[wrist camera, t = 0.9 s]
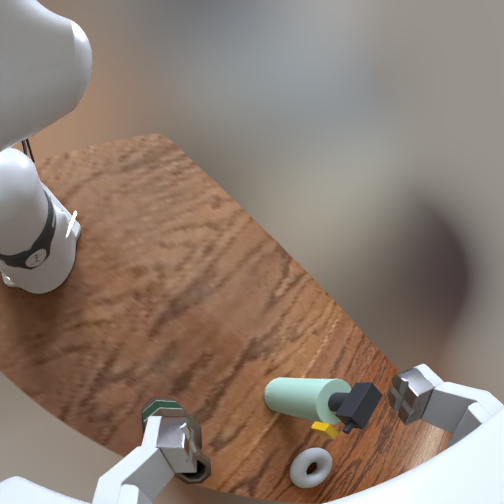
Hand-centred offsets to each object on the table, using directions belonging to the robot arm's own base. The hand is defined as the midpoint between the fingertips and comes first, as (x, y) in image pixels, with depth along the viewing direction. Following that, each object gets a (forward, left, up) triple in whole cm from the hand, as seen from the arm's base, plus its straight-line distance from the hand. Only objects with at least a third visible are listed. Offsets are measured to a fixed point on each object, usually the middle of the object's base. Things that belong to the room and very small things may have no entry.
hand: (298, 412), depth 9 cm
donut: (+35, +3, -38) cm, 52 cm away
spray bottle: (+18, +11, -38) cm, 43 cm away
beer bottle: (+5, -7, -38) cm, 39 cm away
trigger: (+18, +7, -21) cm, 29 cm away
